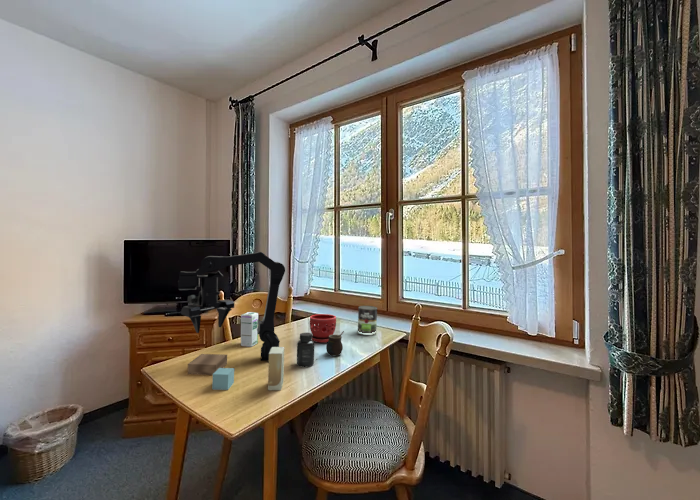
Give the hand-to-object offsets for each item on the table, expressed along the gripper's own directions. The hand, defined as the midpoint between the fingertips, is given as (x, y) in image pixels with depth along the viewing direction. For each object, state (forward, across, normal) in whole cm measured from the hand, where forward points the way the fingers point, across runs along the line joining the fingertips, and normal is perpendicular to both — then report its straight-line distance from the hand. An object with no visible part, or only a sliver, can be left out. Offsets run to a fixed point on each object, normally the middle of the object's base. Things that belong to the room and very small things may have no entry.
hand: (209, 329), depth 116 cm
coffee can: (+15, -75, +28) cm, 81 cm away
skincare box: (+14, -2, +33) cm, 36 cm away
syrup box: (+14, -25, -6) cm, 29 cm away
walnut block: (+14, +2, +3) cm, 14 cm away
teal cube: (+14, +8, +20) cm, 25 cm away
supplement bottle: (+14, -22, +29) cm, 39 cm away
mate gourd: (+14, -38, +32) cm, 52 cm away
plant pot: (+14, -51, +16) cm, 55 cm away
